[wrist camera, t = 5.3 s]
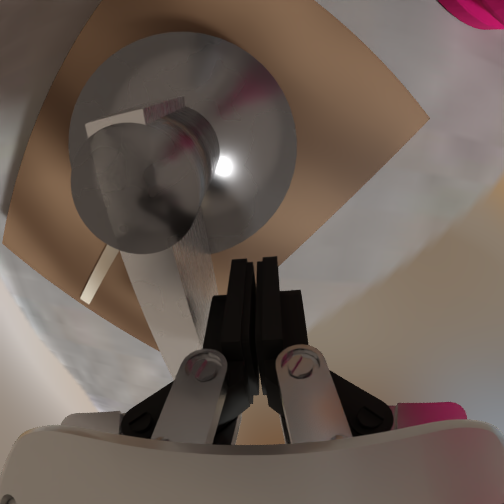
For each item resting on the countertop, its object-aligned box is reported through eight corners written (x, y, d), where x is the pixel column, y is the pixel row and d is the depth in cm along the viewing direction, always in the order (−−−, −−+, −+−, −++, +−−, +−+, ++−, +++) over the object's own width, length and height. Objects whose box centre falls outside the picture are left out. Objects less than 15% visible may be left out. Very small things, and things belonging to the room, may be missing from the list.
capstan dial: (70, 68, 10) (-18, 83, 5) (284, 23, 9) (301, -16, 4) (152, 343, 18) (130, 415, 14) (297, 341, 18) (304, 421, 13)
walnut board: (183, -63, 8) (172, -80, 6) (410, 111, 12) (431, 118, 11) (18, 229, 16) (1, 245, 15) (179, 338, 21) (173, 361, 19)
